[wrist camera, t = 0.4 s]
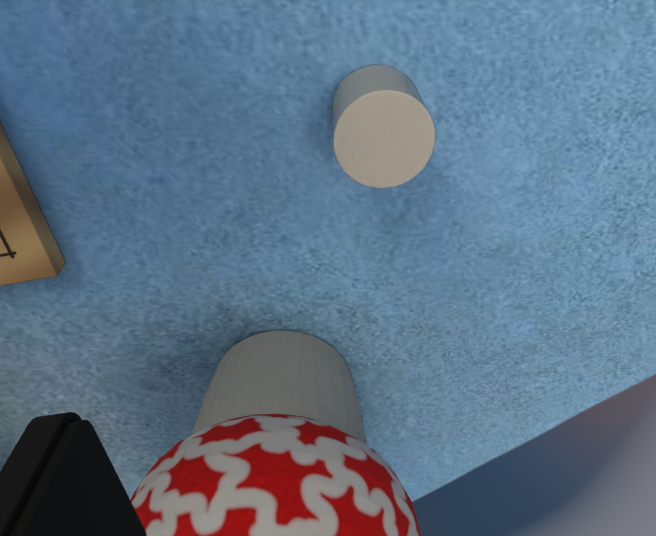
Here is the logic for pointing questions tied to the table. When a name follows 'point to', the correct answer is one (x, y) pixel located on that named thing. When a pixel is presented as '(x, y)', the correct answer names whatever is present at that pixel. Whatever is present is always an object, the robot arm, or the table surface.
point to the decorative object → (276, 453)
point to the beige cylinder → (381, 127)
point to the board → (23, 226)
